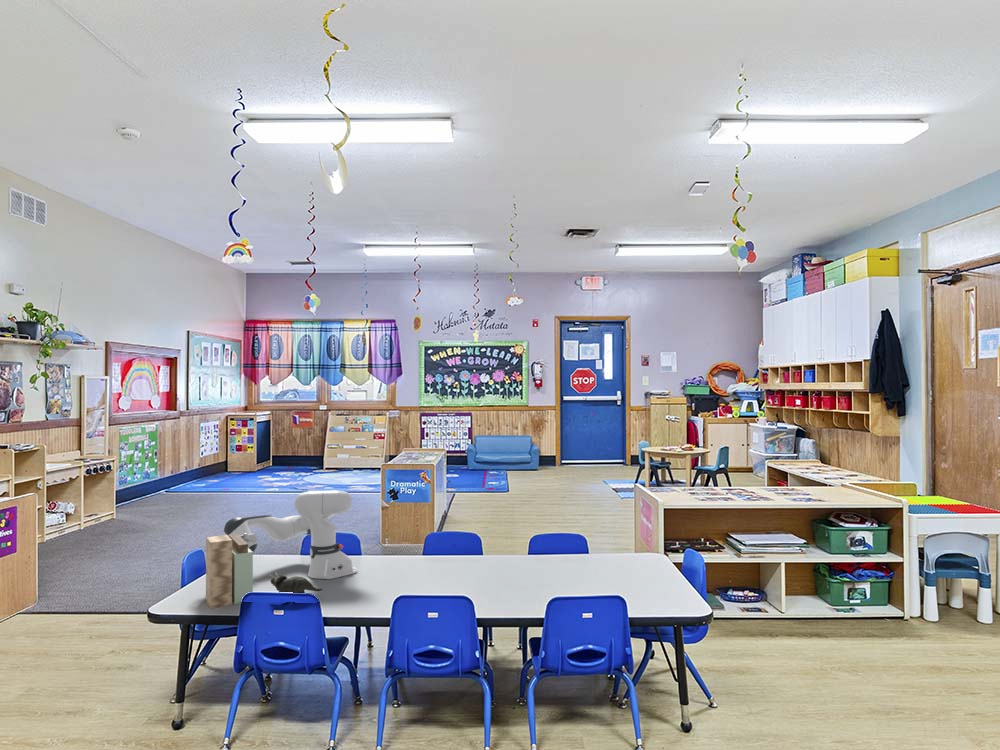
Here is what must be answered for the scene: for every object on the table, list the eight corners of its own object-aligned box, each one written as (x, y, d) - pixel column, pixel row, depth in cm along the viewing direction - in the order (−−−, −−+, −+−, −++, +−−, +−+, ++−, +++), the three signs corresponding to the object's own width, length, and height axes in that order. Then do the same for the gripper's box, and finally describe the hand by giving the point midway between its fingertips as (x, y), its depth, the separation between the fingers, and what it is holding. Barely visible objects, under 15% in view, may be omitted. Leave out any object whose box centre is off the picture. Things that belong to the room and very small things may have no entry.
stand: (227, 596, 270) (227, 534, 270) (232, 604, 260) (232, 540, 261) (205, 600, 265) (205, 537, 266) (210, 608, 256) (210, 542, 256)
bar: (237, 541, 283) (237, 533, 283) (248, 552, 264) (248, 543, 264) (228, 542, 281) (228, 534, 281) (239, 553, 262) (239, 545, 262)
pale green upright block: (245, 591, 277) (245, 544, 277) (253, 600, 265) (253, 552, 265) (227, 594, 273) (227, 547, 273) (234, 604, 261) (234, 554, 261)
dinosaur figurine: (323, 597, 268) (323, 570, 268) (317, 604, 260) (317, 576, 260) (270, 598, 268) (270, 570, 268) (263, 604, 260) (263, 576, 260)
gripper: (254, 550, 291) (260, 540, 282) (205, 557, 280) (210, 546, 270) (252, 536, 294) (258, 526, 284) (204, 543, 283) (208, 532, 273)
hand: (234, 536), depth 277 cm, fingers open, 8 cm apart
